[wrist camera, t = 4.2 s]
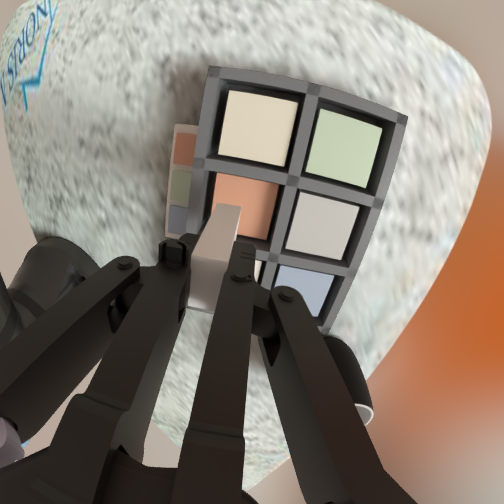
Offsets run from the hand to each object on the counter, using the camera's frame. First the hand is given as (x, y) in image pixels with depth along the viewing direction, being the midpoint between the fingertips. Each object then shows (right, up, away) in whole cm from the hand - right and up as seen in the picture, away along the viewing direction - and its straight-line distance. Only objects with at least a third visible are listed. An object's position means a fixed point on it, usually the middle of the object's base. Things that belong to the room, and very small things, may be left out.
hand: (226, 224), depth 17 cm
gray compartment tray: (+3, +3, +6) cm, 7 cm away
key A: (+6, -4, +7) cm, 10 cm away
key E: (+8, +6, +1) cm, 10 cm away
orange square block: (+1, +3, +5) cm, 6 cm away
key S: (+2, +7, +1) cm, 8 cm away
